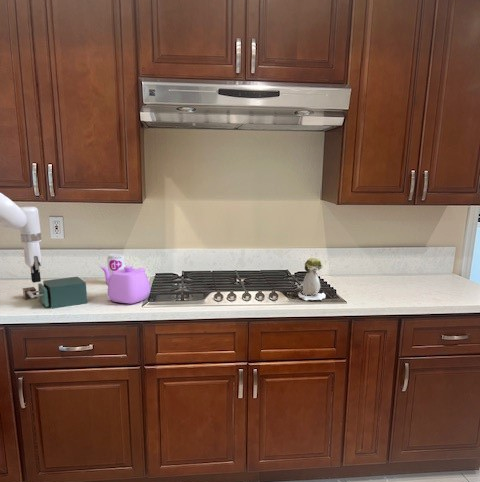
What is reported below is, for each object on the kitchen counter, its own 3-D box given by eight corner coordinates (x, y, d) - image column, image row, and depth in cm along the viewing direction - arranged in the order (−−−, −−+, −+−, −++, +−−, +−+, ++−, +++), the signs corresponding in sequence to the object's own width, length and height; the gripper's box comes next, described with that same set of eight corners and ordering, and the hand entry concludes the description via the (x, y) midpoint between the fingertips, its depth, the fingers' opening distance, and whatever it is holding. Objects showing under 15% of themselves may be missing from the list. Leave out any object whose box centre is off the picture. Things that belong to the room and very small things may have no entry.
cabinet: (51, 308, 192) (49, 287, 189) (44, 300, 202) (42, 280, 199) (87, 303, 200) (85, 282, 197) (79, 296, 210) (77, 276, 207)
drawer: (32, 308, 188) (31, 291, 186) (27, 301, 197) (25, 285, 195) (79, 302, 198) (77, 285, 196) (71, 295, 207) (70, 279, 205)
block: (25, 300, 202) (24, 290, 200) (23, 298, 205) (22, 288, 204) (37, 299, 204) (35, 289, 203) (34, 296, 208) (33, 286, 207)
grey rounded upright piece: (293, 299, 211) (295, 259, 206) (303, 292, 222) (305, 254, 217) (319, 302, 206) (321, 262, 201) (327, 295, 217) (330, 257, 212)
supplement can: (123, 286, 226) (122, 256, 222) (106, 286, 226) (105, 256, 222) (127, 282, 234) (126, 253, 230) (111, 282, 234) (109, 253, 230)
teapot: (160, 294, 214) (159, 262, 210) (135, 307, 195) (133, 272, 191) (118, 289, 222) (116, 258, 218) (89, 301, 202) (87, 267, 198)
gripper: (17, 236, 191) (23, 279, 196) (24, 241, 179) (30, 287, 184) (37, 234, 195) (42, 276, 200) (45, 239, 183) (50, 284, 188)
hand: (36, 281), depth 192 cm, fingers closed
